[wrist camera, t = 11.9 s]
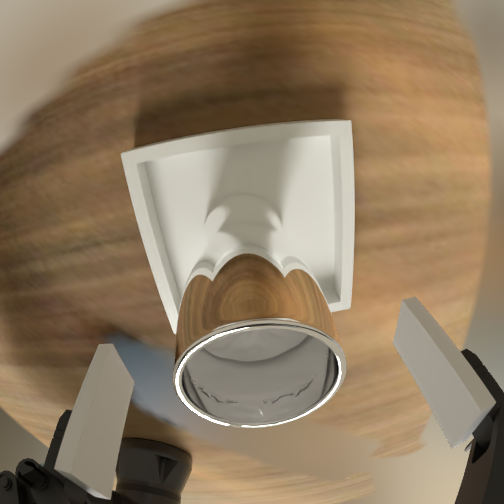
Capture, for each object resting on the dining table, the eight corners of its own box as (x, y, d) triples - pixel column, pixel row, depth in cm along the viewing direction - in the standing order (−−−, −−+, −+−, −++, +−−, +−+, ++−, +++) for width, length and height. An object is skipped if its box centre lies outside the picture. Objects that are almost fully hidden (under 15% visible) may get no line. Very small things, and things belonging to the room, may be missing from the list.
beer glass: (187, 201, 22) (132, 341, 9) (276, 177, 22) (349, 290, 8) (214, 277, 25) (206, 439, 12) (293, 257, 25) (352, 408, 11)
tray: (178, 313, 28) (174, 333, 25) (133, 148, 21) (120, 153, 18) (340, 290, 28) (350, 308, 25) (336, 118, 21) (351, 120, 18)
